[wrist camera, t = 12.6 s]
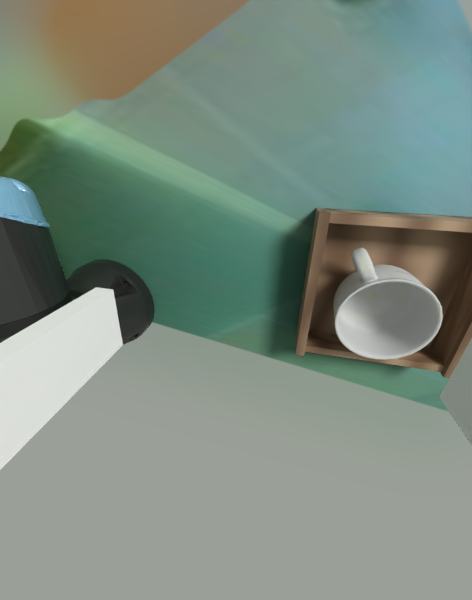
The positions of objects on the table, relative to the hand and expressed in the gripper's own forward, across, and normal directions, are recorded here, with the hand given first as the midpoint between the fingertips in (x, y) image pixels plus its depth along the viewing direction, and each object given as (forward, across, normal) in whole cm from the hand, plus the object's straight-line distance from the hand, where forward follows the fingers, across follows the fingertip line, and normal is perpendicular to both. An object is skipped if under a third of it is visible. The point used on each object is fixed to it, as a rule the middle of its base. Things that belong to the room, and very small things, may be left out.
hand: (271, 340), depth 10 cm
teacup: (+27, +12, -7) cm, 31 cm away
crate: (+28, +14, -7) cm, 32 cm away
